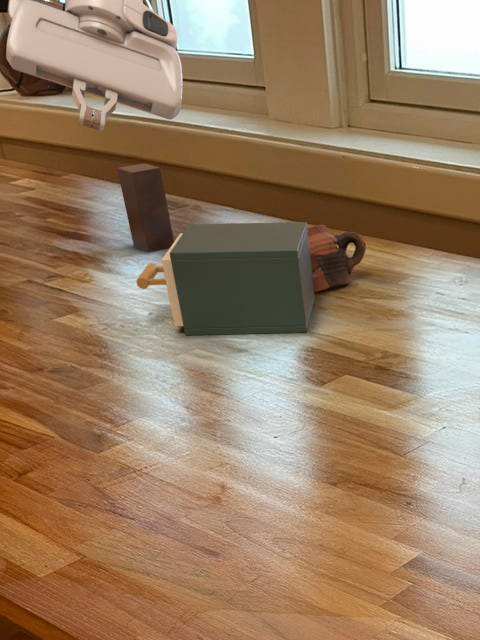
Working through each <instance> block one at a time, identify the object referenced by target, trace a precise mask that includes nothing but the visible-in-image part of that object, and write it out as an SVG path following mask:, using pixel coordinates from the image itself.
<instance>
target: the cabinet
mask: <svg viewBox="0 0 480 640" xmlns="http://www.w3.org/2000/svg"><path fill="white" fill-rule="evenodd" d="M307 228H308V223H307V221H291V222H290V221H289V222H287V221H286V222H284V221H283V222H239V223H238V222H235V223H234V222H233V223H190V224H188V226H187V227H186V228H185V230H184V232H182V233H183V234H182V236H181V237H180V239H179V240H178V242H177V243H176V244H175V246H174V247H173V249H172V250H171V252H170V253H169V254H170V259H171V264H172V269H173V274H174V279H175V284H176V289H177V295H178V300H179V305H180V310H181V315H182V321H183V326H182V327H183V331H184V335H185V336H213V335H214V336H219V335H254V334H256V335H258V334H297V333H299V334H301V333H302V334H303V333H307V332H308V328H309V325H310V320H311V316H312V312H313V308H314V305H315V301H316V296H315V291H314V285H313V276H312V275H313V272H312V267H311V257H310V248H309V239H308V229H307Z"/></svg>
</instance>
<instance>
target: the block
mask: <svg viewBox="0 0 480 640" xmlns="http://www.w3.org/2000/svg"><path fill="white" fill-rule="evenodd" d="M116 170H117V174H118V178H119V184H120V188H121V193H122V197H123V203H124V207H125V213H126V217H127V221H128V226H129V231H130V235H131V240H132V245H133V247H134V248H137V249H138V250H142V251H144V252H147V253H151V252H152V253H153V252H156V251H160V250H165V249H170V247H171V246H172V244H173V243H174V242H175V237H174V233H173V228H172V223H171V218H170V217H171V216H170V212H169V206H168V202H167V201H168V200H167V196H166V191H165V186H164V179H163V175H162V169H161V167H159V166H155V165H152V164H149V163H145V162H143V163H138V164H132V165H127V166H126V165H125V166H120V167H117V169H116Z"/></svg>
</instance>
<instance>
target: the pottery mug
mask: <svg viewBox="0 0 480 640" xmlns="http://www.w3.org/2000/svg"><path fill="white" fill-rule="evenodd" d="M307 229H308V239H309V248H310V257H311V267H312V276H313V285H314V293H318V292H322V291H325V290H326V289H329V288H333V287H340V286H343V285H344V286H345V285H349V283H350V281H349V275H351V274H352V272H353V269H354V268H355V267H356V266H357V265H359V264H360V263H361V262H362V260H363V259H364V256H365V254H366V249H367V248H366V246H367V243H366V242H365V240H363V237H362V236H361V234H359V232H356V231H346V232H344V233H341V234H337V235H333V234H331V233H330V232H329V230H328V227H327V225H325V224H317V225H312V226H309V227H307ZM350 244H353V245H354V252H353V253H352V256H351V257H349V255H348V254H347V250H348V247H349V245H350ZM319 269H320V270H319Z"/></svg>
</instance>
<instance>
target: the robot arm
mask: <svg viewBox="0 0 480 640" xmlns="http://www.w3.org/2000/svg"><path fill="white" fill-rule="evenodd" d="M7 16H8V18H9V20H10V26H9V30H8V35H7V39H6V50H5V51H6V53H5V57H6V61H7V62H8V63H9V66H10V67H11V68H12V69H13V70H14V71H18V72H20V73H24V74H27V75H30V76H33V77H36V78H39V79H43V80H46V81H48V82H52V83H54V84H58V85H61V86H64V87H67V88H70V89H72V93H71V97H72V99H73V101H74V103H75V105H76V107H77V110H78V111H79V118H78V124H79V125H80V126H84V127H87V128H91V129H94V130H97V131H100V132H104V131H105V126H106V120H107V119H108V118H109V117H110V116H111V115H112V114H113V113H114V112H115V111H116V109H117V104H120V105H123V106H126V107H130V108H132V109H135V110H139V111H142V112H144V113H148V114H151V115H154V116H156V117H160V118H163V119H166V120H173V119H175V118H176V117H177V116H178V115H179V113H180V111H181V106H182V102H183V101H182V100H183V67H182V61H181V57H180V56H179V53H178V52H177V50H176V49H177V44H178V30H177V27H176V26H175V25H174V24H173V23H171V22H169V20H166V19H165V18H163V17H162V16H161V15H159V14H158V13H156V12H155V11H153V9H151V8H149V7H148V6H146V5H145V4H144V0H64V2H61V1H59V0H8V4H7ZM85 94H89V95H93V96H94V97H99V98H101V99H103V106H102V108H101V109H96V108H94V107H91V106H88V105H87V103H86V100H85Z"/></svg>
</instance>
